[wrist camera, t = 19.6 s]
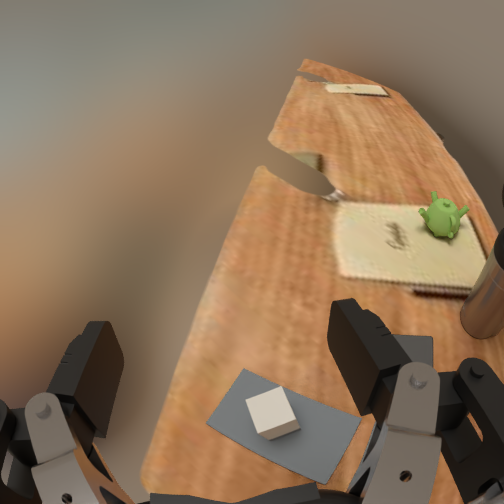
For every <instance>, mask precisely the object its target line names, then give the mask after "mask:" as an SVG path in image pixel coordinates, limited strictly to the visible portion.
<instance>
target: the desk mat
mask: <svg viewBox="0 0 504 504" xmlns="http://www.w3.org/2000/svg"><path fill="white" fill-rule="evenodd" d="M278 387H280V385H278V384H275V383H273V382H271V381H269V380H267V379H265V378H263V377H261V376H259V375H256V374H254V373H252V372H250V371H248V370H246V369H244V368H243V370H242V371H241V373H240V374H239V376H238V377H237V379H236V380H235V382H234V383H233V385H232V386H231V388H230V389H229V391H228V392H227V394H226V395H225V397H224V398H223V399H222V401H221V402H220V404H219V405H218V407H217V408H216V410H215V411H214V412H213V414H212V415H211V417H210V418H209V419H208V421H207V422H206V424H208V425H209V426H211V427H213V428H214V429H216V430H217V431H219V432H221V433H222V434H224V435H225V436H227V437H229V438H230V439H232V440H234V441H236V442H237V443H239V444H241V445H242V446H244V447H246V448H248V449H250V450H252V451H253V452H255V453H257V454H259V455H261V456H263V457H265V458H267V459H269V460H271V461H273V462H275V463H277V464H279V465H281V466H283V467H285V468H287V469H289V470H292V471H294V472H296V473H298V474H300V475H303V476H305V477H307V478H310V479H312V480H315V481H317V482H320V483H322V484H326V483H327V481H328V480H329V478H330V476H331V475H332V473H333V471H334V470H335V468H336V466H337V465H338V463H339V461H340V459H341V458H342V456H343V454H344V452H345V450H346V449H347V447H348V445H349V443H350V441H351V439H352V437H353V435H354V433H355V431H356V429H357V427H358V425H359V423H360V421H361V419H362V418H359V417H356V416H354V415H351V414H348V413H345V412H343V411H340V410H337V409H335V408H332V407H330V406H327V405H324V404H322V403H319V402H317V401H315V400H312V399H310V398H307V397H305V396H303V395H300V394H298V393H296V392H293V391H291V390H289V389H286V388H284V387H282V388H283V390H284V392H285V395H286V397H287V399H288V401H289V403H290V406H291V408H292V410H293V412H294V415H295V417H296V419H297V421H298V424H299V426H300V428H301V430H299V431H297V432H294V433H292V434H289V435H287V436H284V437H281V438H279V439H276V440H273V441H269V440H268V439H266V438H264V437H263V436H261V435H259V434H258V433H257V430H256V428H255V425H254V422H253V420H252V417H251V414H250V411H249V409H248V406H247V403H246V399H249V398H252V397H254V396H257V395H260V394H262V393H265V392H268V391H270V390H273V389H275V388H278Z"/></svg>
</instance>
